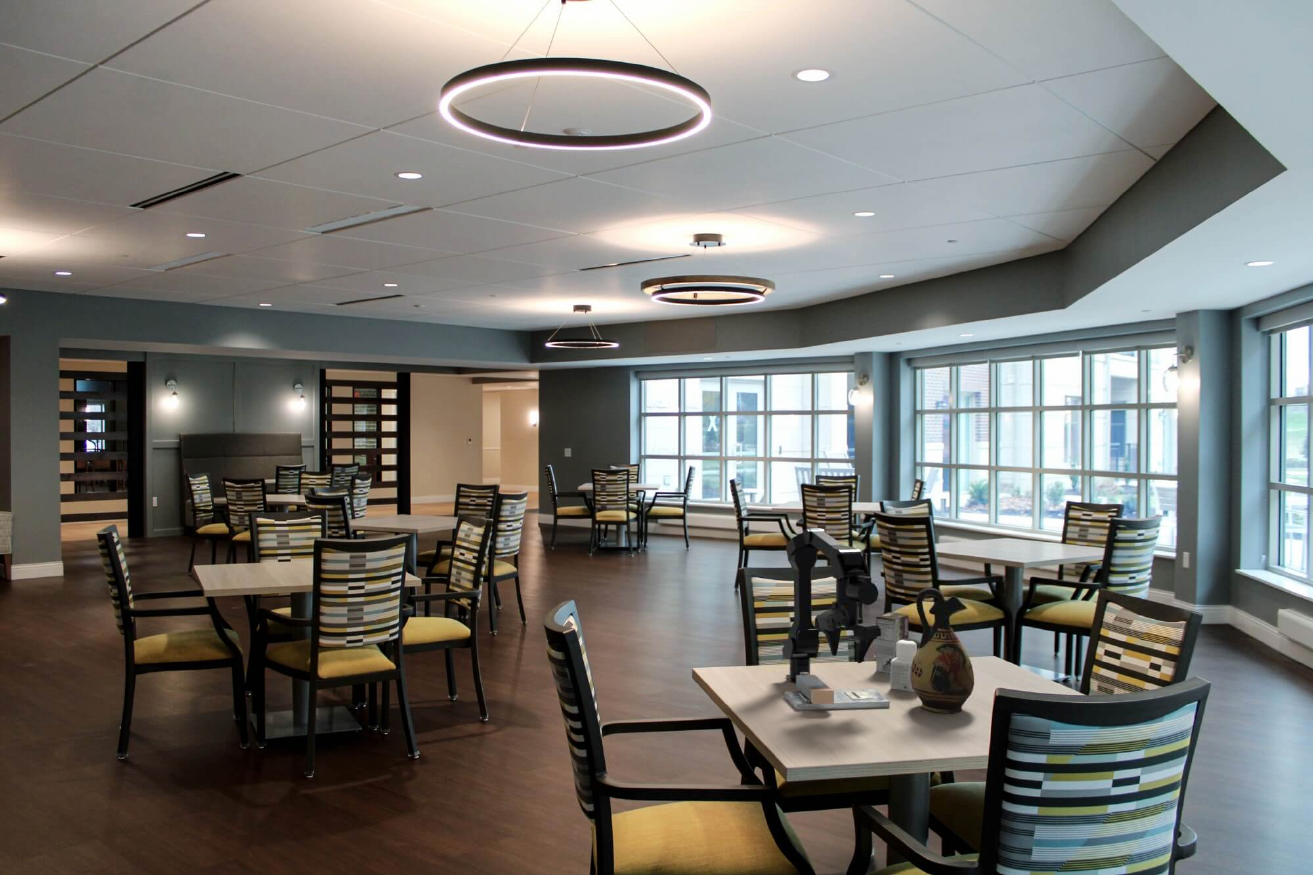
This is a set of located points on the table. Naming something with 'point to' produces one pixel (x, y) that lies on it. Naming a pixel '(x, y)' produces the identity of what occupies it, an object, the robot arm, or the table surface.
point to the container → (903, 664)
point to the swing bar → (814, 689)
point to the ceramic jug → (941, 658)
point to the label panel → (840, 700)
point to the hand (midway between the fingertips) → (846, 659)
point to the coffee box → (889, 638)
